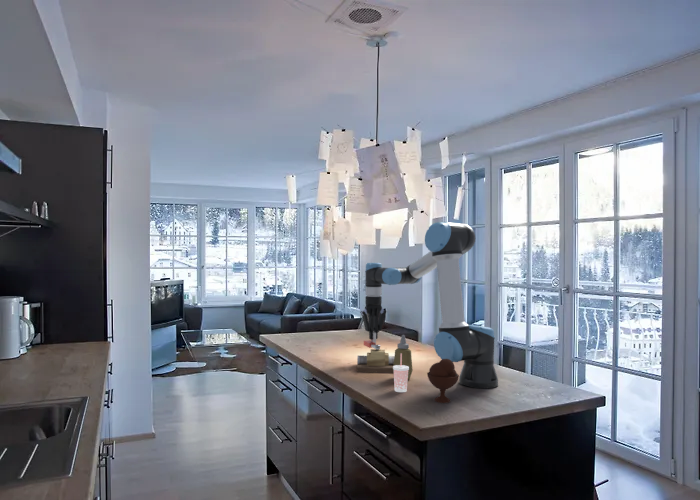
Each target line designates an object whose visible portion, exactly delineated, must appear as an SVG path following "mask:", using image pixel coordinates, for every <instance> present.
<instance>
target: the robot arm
mask: <svg viewBox="0 0 700 500" xmlns="http://www.w3.org/2000/svg"><path fill="white" fill-rule="evenodd" d="M475 243H476V233H475V231H474V229H473V228H472V227H471V226H470V225H468V224H467V223H462V222H449V221H441V222H439V221H438V222H434V223H432V224H431V225H430V226H429V227H428V229H427V230H426V232H425V235H424V245H425V247H426V248H427V250H428V251H429V252H428V253H425V254H424V255H423V256H421V257H419V258H418V259H417V260H415V261H414V262H412V263H411V264H409V265H408V266H404V267H383V265H382V263H381V262H367V263H365V274H364V275H365V297H364V298H365V301H364V302H365V307H364V309H363V310H361V311H360V315H361V316H362V321H363V325H364V330H365V332H368V336H369V337H368V338H369V340H370V341H372V342H374V343H376V344H377V340H378V338H379V337H378V334H379V332H380V331H382V328H383V324H384V320H385V319H384V318H385V315H386V314H387V310H385V309H384V308H383V307H382V303H383V302H382V299H383V298H382V290H383V288H382V284H383V285H388V286H395V285H404V284H406V285H408V284H410V285H412V284H418V283H420V281H421V280H422V278H423V277H424V276H425V275H427V274H428V273H430V272H432V271H434V270H436V269H437V271H436V272H437V283H438V291H439V303H440V311H441V313H440V314H441V323H440V325H439V326H438V333H437V334H436V335H435V337H434V339H433V347H434V348H433V349H434V351H435V353H436V354H437V356H438V357H440V360H442V359H449V360H451V361H452V362H453V363H459V362H463V365H462V368H461V371H460V374H459V378H458V383H459V384H460V385H463V386H465V387H470V388H477V389H491V388H492V389H493V388H496V387H498V386H499V377H498V375H497V372H496V369H495V358H494V357H495V339H496V338H495V331H494V329H493V328H492V327H488V326H482V325H481V326H480V325H473V324H469V323H467V322H466V321H465V320H466V319H465V312H464V300H463V299H464V298H463V292H462V291H463V290H462V278H461V270H460V269H461V268H460V258H461V257H462V256H463V255H465V254H466V253H468V252H469V251H471V250H472V248H473V247H474V246H475Z"/></svg>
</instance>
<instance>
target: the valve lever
mask: <svg viewBox="0 0 700 500" xmlns="http://www.w3.org/2000/svg"><path fill="white" fill-rule="evenodd" d="M363 346H364V347H367V348H369V349H376V351H380V348H381V344H377V342H376V343H374V342H372V341H371V339H369V340H363Z"/></svg>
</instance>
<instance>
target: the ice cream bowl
mask: <svg viewBox="0 0 700 500" xmlns="http://www.w3.org/2000/svg"><path fill="white" fill-rule="evenodd" d="M454 363H455V362H452V361H451V360H449V359H440V361H439V362H438V361H437V362H434V363H433V364H432V365H431V366H430V368H429V371H428V372H426V374H427V377H428V381H429V382H430V383H431V384H432V386H433V387H435V388H436V389H438V390H439V391H440V393H439V396H437V397H436V398H434V402H436V403H438V404H439V403H441V404H449V403H451V399H450V398H449V397H448V396H446V390H448V389H451V388H453V387H454V386H455V385H456V384H457V383H458V382H459V376H460V374H458V373H457V371H456V370H455V368H456V367H455V364H454Z"/></svg>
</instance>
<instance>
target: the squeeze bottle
mask: <svg viewBox="0 0 700 500" xmlns="http://www.w3.org/2000/svg"><path fill="white" fill-rule="evenodd" d="M401 353H402V365H405V366H408V367H409V370H408V380H410V379H411V377H412V373H413V359H412V350H411V349H410V345H409V343H407V339H406V335H405V334H402V335H401V337H400V342H398V343H397V348H396V349H395V350H394V365H393V366H395V365H400V357H401ZM393 371H394V369H393Z"/></svg>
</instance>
